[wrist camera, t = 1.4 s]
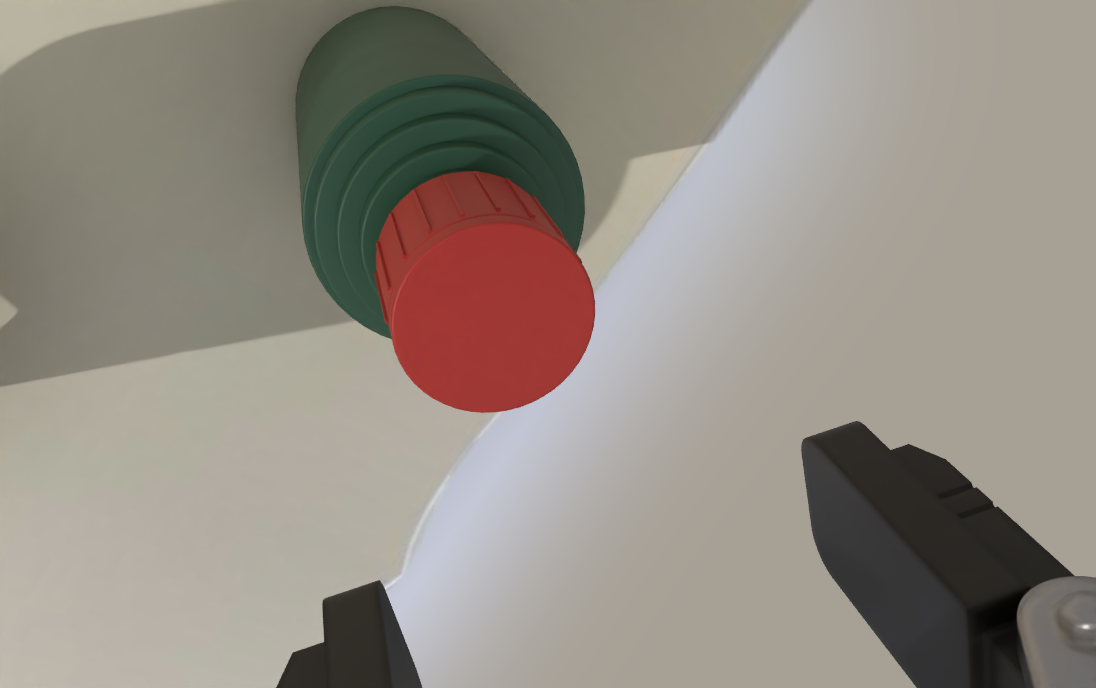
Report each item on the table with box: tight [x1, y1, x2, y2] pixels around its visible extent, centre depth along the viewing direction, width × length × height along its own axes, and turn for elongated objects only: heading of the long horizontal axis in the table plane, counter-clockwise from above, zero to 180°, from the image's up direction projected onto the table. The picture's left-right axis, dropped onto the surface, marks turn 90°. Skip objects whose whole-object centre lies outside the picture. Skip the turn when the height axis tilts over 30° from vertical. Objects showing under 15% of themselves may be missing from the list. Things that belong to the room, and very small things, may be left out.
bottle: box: [296, 6, 585, 339], centre depth 29 cm, size 7×7×19 cm
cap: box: [374, 171, 595, 413], centre depth 22 cm, size 4×4×4 cm
